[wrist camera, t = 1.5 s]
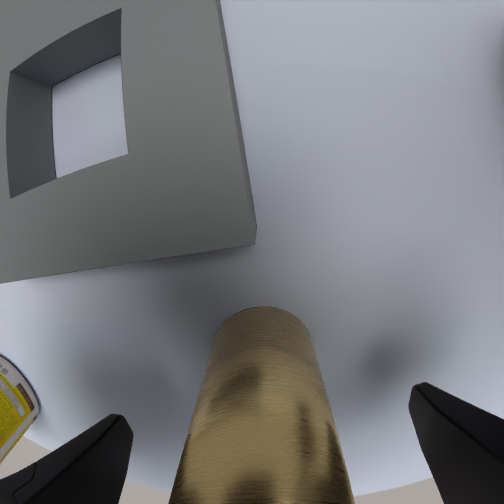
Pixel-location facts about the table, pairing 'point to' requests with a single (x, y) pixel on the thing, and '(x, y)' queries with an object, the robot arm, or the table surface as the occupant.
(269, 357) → the cylinder
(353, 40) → the table surface
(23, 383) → the supplement bottle
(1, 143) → the jig
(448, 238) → the table surface
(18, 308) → the table surface
